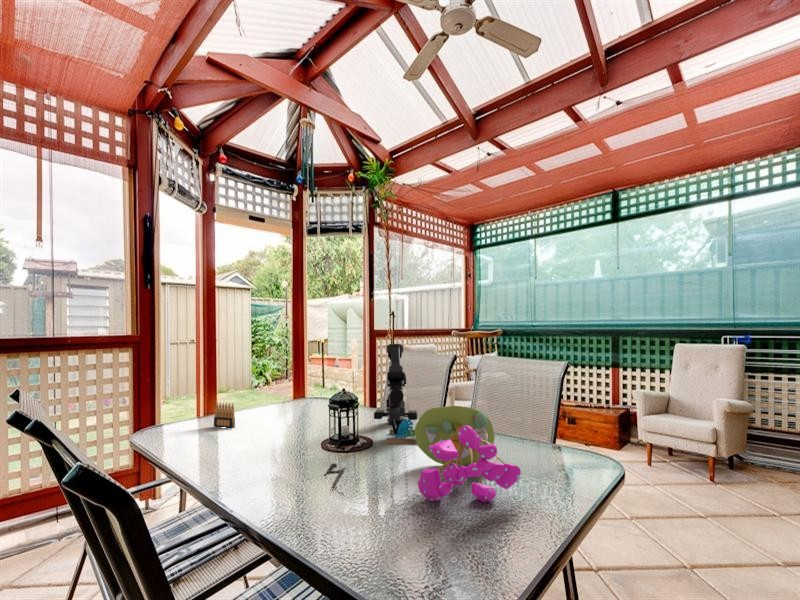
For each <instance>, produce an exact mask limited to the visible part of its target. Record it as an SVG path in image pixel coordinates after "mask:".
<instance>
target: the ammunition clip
mask: <svg viewBox="0 0 800 600" xmlns="http://www.w3.org/2000/svg"><path fill="white" fill-rule="evenodd" d="M214 426H215V427H226V428H234V427H235V428H236V417H235V405H234V403H233V402H232V403H231V402H229V403H228V402H226V403H225V402H222V403H221V401H220V402H218V401H217V402H216V404H215V410H214V416H213V427H214ZM235 428H234V429H235Z"/></svg>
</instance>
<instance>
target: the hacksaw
mask: <svg viewBox="0 0 800 600" xmlns="http://www.w3.org/2000/svg"><path fill="white" fill-rule="evenodd" d="M335 467H336V468H337V467H338V465H337V463H335V462H333V463H331V464H330V467H329V468H328V470H326V473H323V476H326V475H327V474H328V475H329V474H337V473H336V472H338V474H337V476H336V478H335V480H334V482H333V484H332V486H331V489H332V488H333V489H332V491H333V490H334V491H335V490H336V491H337V492H336V493H338V492H339V491H338V490H337V488H338V486H337V484H338V483H339V481H340V479H341V478H342V476H343V475H344V473H345V470H346V467H343V468H341V469H338V470H334V469H335ZM333 468H334V469H333ZM332 469H333V470H332ZM331 470H332V471H331ZM330 472H331V473H330ZM341 475H342V476H341ZM340 477H341V478H340ZM339 478H340V479H339ZM337 482H338V483H337ZM335 486H336V488H335ZM334 488H335V489H334ZM331 489H330V490H331ZM334 491H333V492H334ZM341 493H342V494H343V495H344V493H343V492H341V491H340V492H339V493H338V494H341ZM342 494H341V495H342Z"/></svg>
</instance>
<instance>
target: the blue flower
mask: <svg viewBox="0 0 800 600" xmlns="http://www.w3.org/2000/svg"><path fill="white" fill-rule="evenodd" d="M413 424H414V422H413V421H412V420H410V419H409V418H408V419H407V418H404V421H402V422H401V423H400V425H399V428H398V432H397V435H395V434H394V433H393V434H392V435H393V436H394V438H407V436H408V437H409V438H415V435H413V432H412V431H409V430H414V427H413ZM396 425H397V424H395V426H396ZM406 434H407V435H406Z"/></svg>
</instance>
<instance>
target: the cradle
mask: <svg viewBox="0 0 800 600" xmlns="http://www.w3.org/2000/svg"><path fill="white" fill-rule="evenodd" d="M409 431H412V432H413V436H415V429H412V430H411V429H409ZM393 433H394V431H393V428H389V435H393ZM386 444H390V445H392V444H394V445H417V443H416V438H415V437H414V438H412V437H409V438H407V437H406V438H404V437H402V438H399V437H398V438H396V437H387V438H386Z"/></svg>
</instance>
